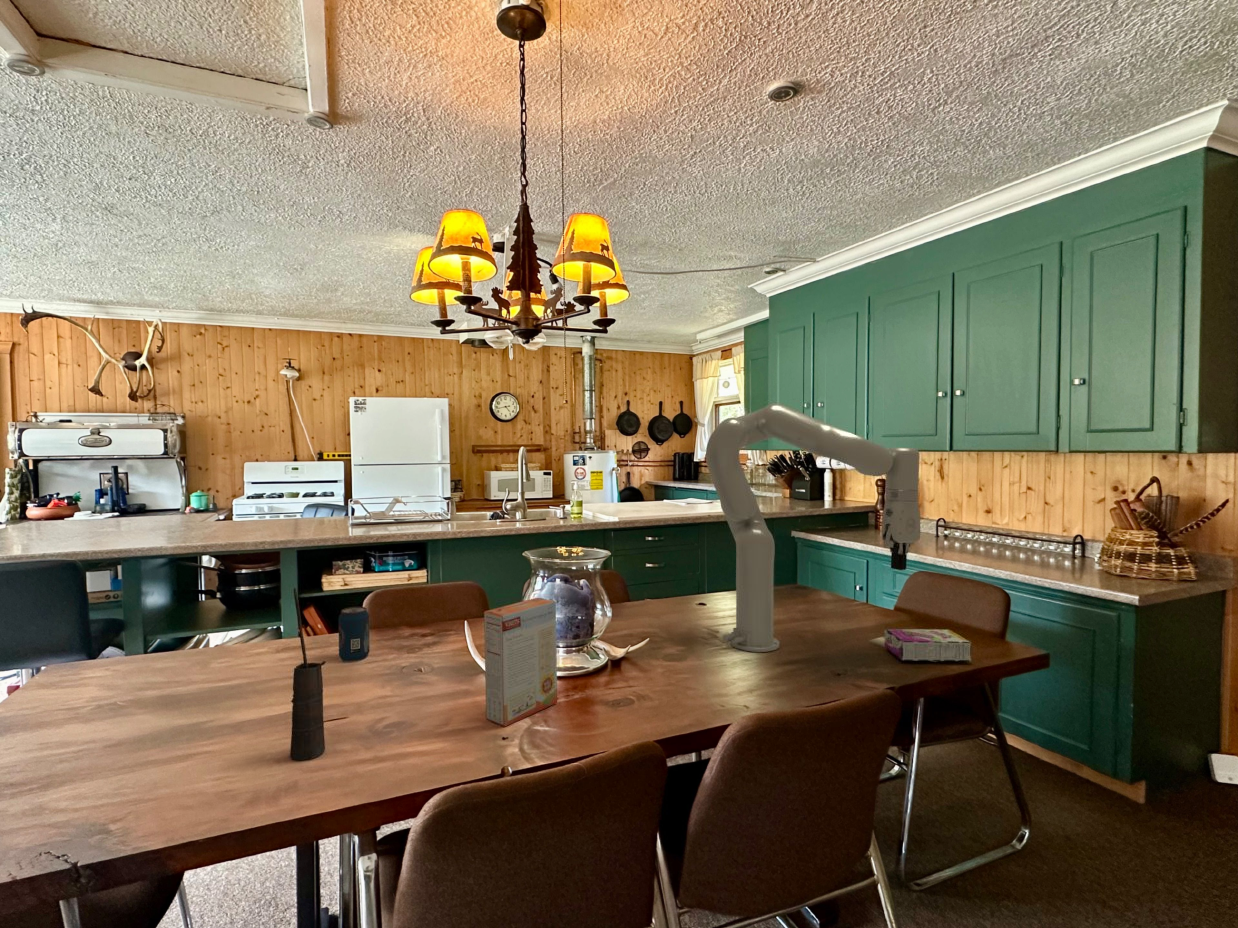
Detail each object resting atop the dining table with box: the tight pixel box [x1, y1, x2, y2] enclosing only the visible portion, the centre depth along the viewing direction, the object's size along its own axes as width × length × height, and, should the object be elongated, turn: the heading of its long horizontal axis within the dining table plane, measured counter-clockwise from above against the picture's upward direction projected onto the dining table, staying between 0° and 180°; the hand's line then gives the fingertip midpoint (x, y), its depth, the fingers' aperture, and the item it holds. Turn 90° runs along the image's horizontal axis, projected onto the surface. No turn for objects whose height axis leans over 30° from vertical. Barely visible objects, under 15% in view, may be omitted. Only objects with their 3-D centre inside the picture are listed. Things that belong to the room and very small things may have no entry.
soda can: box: [338, 606, 371, 663], centre depth 151 cm, size 7×7×12 cm
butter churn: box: [289, 587, 327, 761], centre depth 103 cm, size 9×10×28 cm
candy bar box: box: [884, 628, 972, 662], centre depth 152 cm, size 11×5×16 cm
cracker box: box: [483, 597, 558, 727], centre depth 120 cm, size 14×6×21 cm, turn 141°
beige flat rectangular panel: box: [868, 635, 938, 663], centre depth 159 cm, size 13×18×1 cm
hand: (898, 568), depth 155 cm, fingers closed
